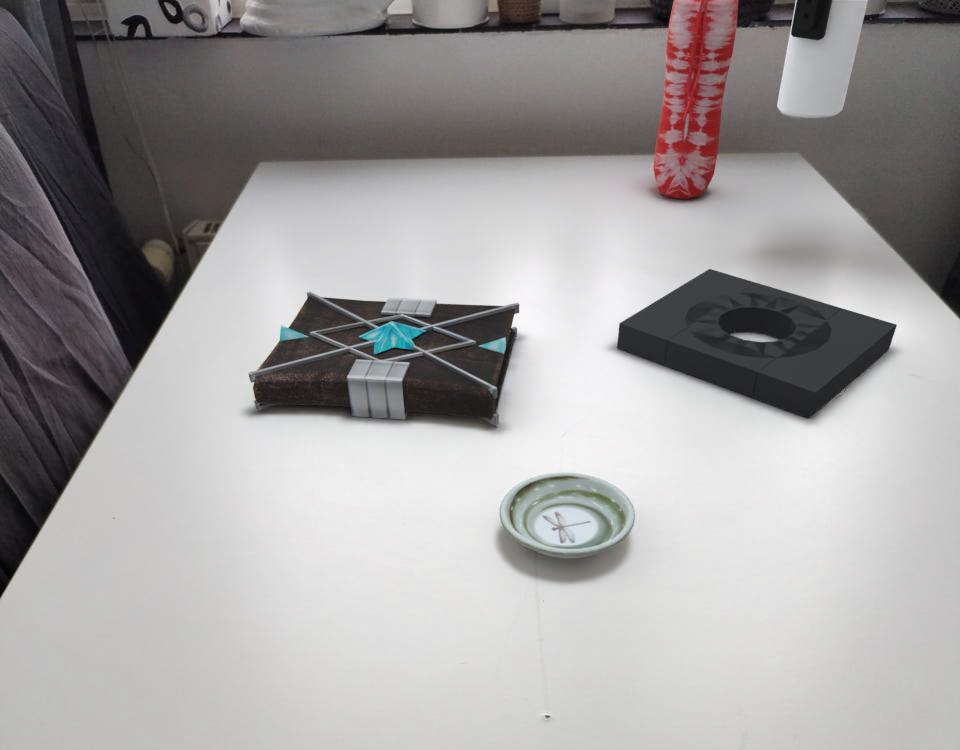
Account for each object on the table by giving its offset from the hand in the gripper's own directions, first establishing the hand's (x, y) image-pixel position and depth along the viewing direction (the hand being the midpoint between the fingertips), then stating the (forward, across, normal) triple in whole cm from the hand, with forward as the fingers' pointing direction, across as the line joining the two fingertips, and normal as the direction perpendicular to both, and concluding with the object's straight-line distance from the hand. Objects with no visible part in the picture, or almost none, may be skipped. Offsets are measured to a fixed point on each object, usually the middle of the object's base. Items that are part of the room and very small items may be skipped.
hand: (826, 28), depth 85 cm
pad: (+21, -22, -9) cm, 32 cm away
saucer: (+21, -56, -14) cm, 61 cm away
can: (+7, 0, 0) cm, 7 cm away
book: (+21, -47, +13) cm, 53 cm away
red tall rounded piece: (+21, +11, +20) cm, 31 cm away
